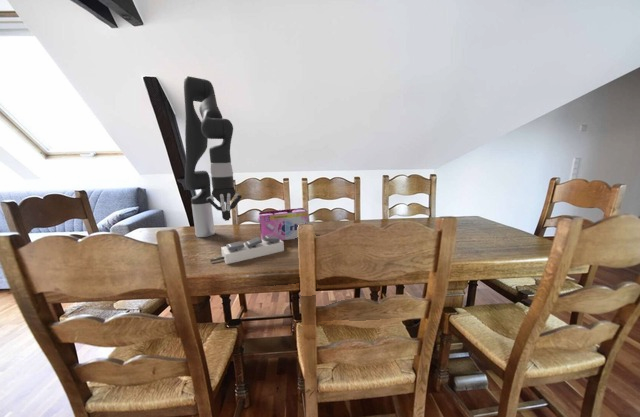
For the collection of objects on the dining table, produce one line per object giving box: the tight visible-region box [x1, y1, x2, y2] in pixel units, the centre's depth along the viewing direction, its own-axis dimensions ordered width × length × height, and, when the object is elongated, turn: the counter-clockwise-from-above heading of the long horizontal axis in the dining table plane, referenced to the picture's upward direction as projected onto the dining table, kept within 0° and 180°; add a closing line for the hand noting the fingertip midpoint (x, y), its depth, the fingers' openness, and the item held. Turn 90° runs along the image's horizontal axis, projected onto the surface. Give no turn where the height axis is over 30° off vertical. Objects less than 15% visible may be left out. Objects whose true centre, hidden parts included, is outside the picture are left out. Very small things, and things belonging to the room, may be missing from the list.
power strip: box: [209, 238, 285, 265], centre depth 106 cm, size 9×29×5 cm, turn 121°
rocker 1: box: [225, 240, 244, 251], centre depth 101 cm, size 5×6×1 cm
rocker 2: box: [244, 236, 262, 248], centre depth 105 cm, size 5×6×1 cm
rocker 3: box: [263, 236, 280, 242], centre depth 109 cm, size 5×6×1 cm
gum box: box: [257, 207, 309, 241], centre depth 125 cm, size 24×8×14 cm, turn 110°
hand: (226, 220), depth 98 cm, fingers closed
